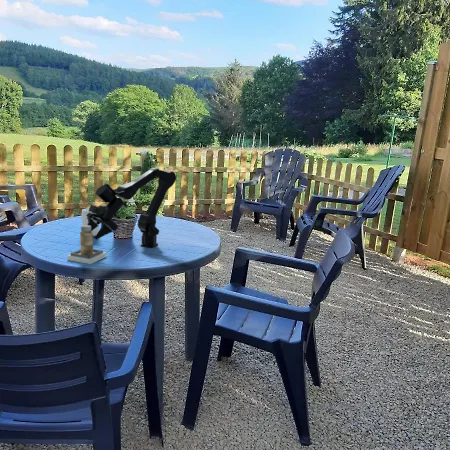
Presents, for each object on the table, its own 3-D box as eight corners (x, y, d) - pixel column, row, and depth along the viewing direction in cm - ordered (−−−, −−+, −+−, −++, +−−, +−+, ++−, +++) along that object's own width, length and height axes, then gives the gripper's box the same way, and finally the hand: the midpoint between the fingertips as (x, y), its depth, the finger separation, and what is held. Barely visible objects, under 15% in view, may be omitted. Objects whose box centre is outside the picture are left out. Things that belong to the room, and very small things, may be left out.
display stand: (106, 256, 190) (105, 250, 189) (90, 264, 180) (90, 257, 179) (83, 253, 194) (83, 246, 193) (67, 259, 184) (67, 253, 183)
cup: (89, 239, 215) (88, 212, 212) (78, 236, 220) (77, 209, 216) (102, 236, 222) (101, 209, 219) (92, 233, 227) (91, 207, 223)
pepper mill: (94, 252, 189) (93, 225, 186) (91, 256, 184) (90, 228, 181) (82, 251, 189) (81, 224, 186) (79, 255, 184) (78, 227, 181)
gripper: (89, 194, 191) (67, 221, 187) (110, 201, 179) (87, 230, 174) (105, 209, 199) (84, 235, 194) (127, 216, 186) (105, 245, 181)
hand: (90, 236), depth 186 cm, fingers open, 9 cm apart
